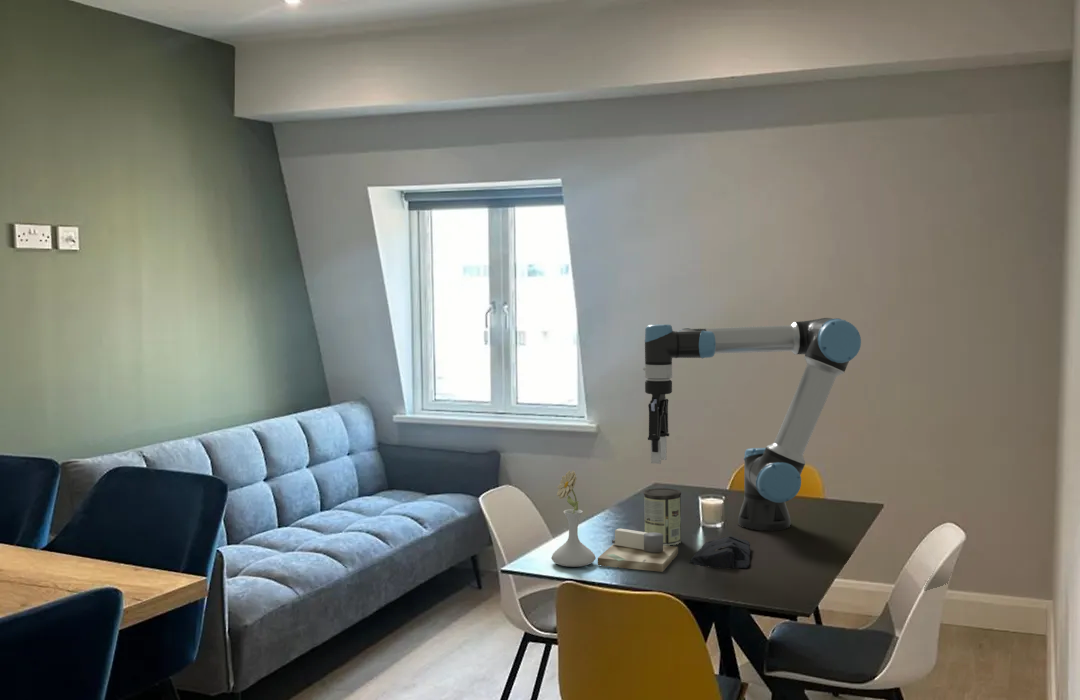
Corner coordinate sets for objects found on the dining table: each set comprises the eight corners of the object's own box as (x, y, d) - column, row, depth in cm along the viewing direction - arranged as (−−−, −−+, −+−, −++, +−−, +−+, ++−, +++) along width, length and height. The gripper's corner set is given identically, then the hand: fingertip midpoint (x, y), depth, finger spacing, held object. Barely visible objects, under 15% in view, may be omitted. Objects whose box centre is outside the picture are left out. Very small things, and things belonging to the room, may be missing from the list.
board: (677, 554, 265) (677, 546, 265) (661, 572, 248) (661, 564, 248) (616, 548, 271) (616, 541, 271) (596, 566, 254) (596, 558, 254)
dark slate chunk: (758, 550, 270) (758, 532, 270) (747, 572, 250) (747, 553, 249) (702, 545, 275) (702, 528, 275) (686, 567, 255) (686, 548, 254)
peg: (666, 549, 261) (666, 534, 261) (657, 553, 257) (657, 538, 257) (617, 541, 270) (617, 526, 270) (608, 545, 266) (607, 530, 265)
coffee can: (650, 535, 285) (650, 486, 284) (685, 539, 281) (685, 489, 280) (638, 544, 276) (638, 493, 275) (674, 548, 271) (674, 496, 270)
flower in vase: (551, 558, 263) (550, 464, 261) (595, 558, 262) (594, 464, 261) (550, 572, 250) (549, 473, 248) (596, 572, 249) (595, 473, 248)
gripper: (653, 376, 290) (653, 455, 291) (636, 382, 272) (637, 466, 274) (679, 376, 287) (679, 456, 289) (663, 382, 270) (663, 467, 271)
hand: (658, 461), depth 281 cm, fingers open, 6 cm apart
